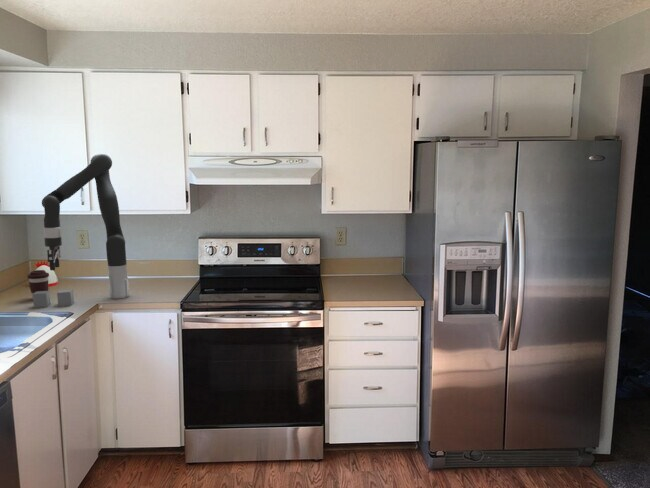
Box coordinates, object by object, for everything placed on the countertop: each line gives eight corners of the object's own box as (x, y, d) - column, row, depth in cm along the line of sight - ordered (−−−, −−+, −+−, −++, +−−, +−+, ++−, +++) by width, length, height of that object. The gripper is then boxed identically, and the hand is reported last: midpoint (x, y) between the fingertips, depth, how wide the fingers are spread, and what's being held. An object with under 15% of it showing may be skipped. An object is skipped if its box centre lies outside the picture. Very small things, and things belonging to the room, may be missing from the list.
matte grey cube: (74, 302, 270) (73, 289, 269) (71, 305, 265) (70, 292, 264) (61, 303, 269) (60, 290, 268) (58, 306, 263) (57, 292, 262)
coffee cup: (27, 302, 272) (24, 273, 270) (32, 297, 282) (29, 270, 280) (48, 300, 275) (46, 272, 273) (52, 296, 285) (50, 268, 282)
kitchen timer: (32, 283, 316) (30, 259, 314) (58, 281, 322) (56, 257, 319) (30, 288, 303) (28, 262, 301) (57, 286, 309) (55, 260, 307)
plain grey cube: (50, 304, 268) (49, 290, 267) (47, 307, 262) (46, 293, 261) (37, 305, 266) (36, 291, 265) (34, 308, 261) (32, 294, 260)
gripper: (57, 238, 255) (59, 271, 257) (64, 234, 268) (66, 265, 271) (40, 238, 253) (42, 271, 255) (48, 234, 267) (50, 266, 269)
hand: (54, 268), depth 263 cm, fingers open, 8 cm apart
